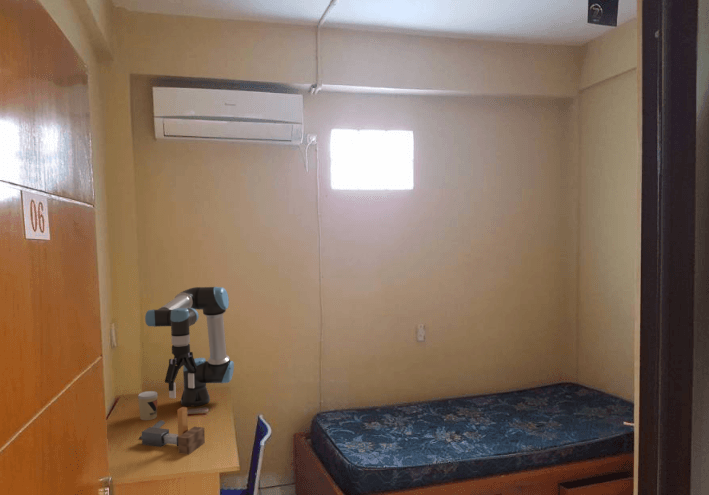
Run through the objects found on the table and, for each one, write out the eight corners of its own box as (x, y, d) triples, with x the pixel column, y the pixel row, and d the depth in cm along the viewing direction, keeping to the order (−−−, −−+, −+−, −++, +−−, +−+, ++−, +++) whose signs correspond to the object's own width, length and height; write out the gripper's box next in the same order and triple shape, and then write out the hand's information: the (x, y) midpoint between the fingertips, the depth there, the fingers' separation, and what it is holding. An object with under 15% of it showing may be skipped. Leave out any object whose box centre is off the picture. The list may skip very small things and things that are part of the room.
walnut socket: (194, 441, 239) (194, 426, 238) (204, 443, 237) (204, 427, 237) (178, 453, 227) (178, 437, 227) (188, 454, 226) (188, 438, 225)
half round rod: (137, 440, 243) (137, 436, 242) (157, 423, 262) (157, 420, 262) (147, 440, 242) (146, 436, 242) (165, 423, 262) (165, 420, 262)
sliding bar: (157, 439, 240) (156, 403, 239) (196, 443, 234) (195, 407, 233) (151, 443, 235) (150, 407, 235) (190, 448, 230) (189, 411, 229)
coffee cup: (151, 421, 264) (150, 397, 263) (134, 420, 266) (133, 396, 265) (162, 414, 273) (161, 391, 272) (145, 413, 275) (144, 390, 274)
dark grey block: (150, 439, 242) (149, 427, 241) (169, 442, 239) (168, 429, 238) (142, 444, 236) (141, 431, 236) (161, 447, 233) (160, 434, 233)
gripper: (190, 337, 244) (191, 383, 245) (154, 350, 220) (156, 401, 221) (204, 338, 242) (205, 384, 243) (170, 352, 218) (172, 403, 219)
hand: (182, 392), depth 232 cm, fingers open, 13 cm apart
